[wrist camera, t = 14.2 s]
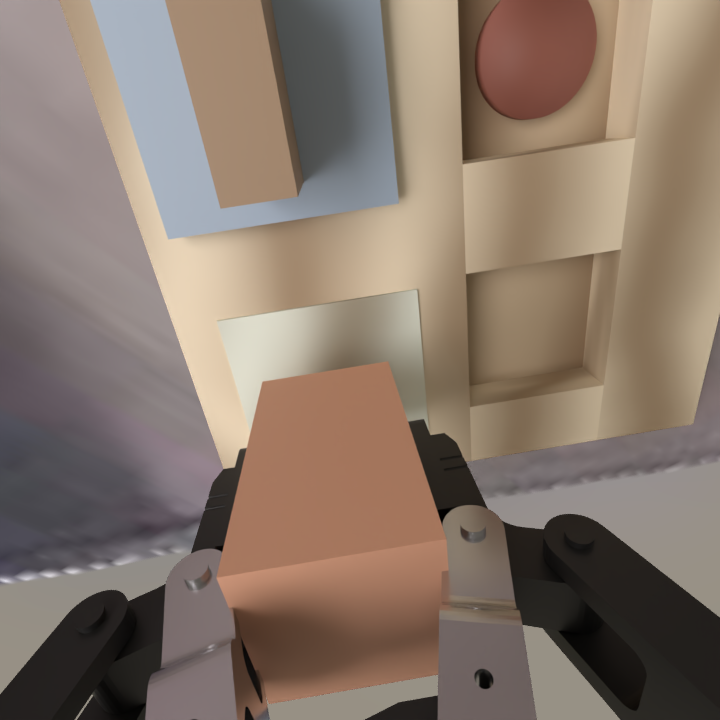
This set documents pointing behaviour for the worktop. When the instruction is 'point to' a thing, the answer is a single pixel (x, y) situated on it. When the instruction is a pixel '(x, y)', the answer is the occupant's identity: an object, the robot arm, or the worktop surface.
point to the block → (334, 538)
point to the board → (481, 231)
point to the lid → (254, 107)
